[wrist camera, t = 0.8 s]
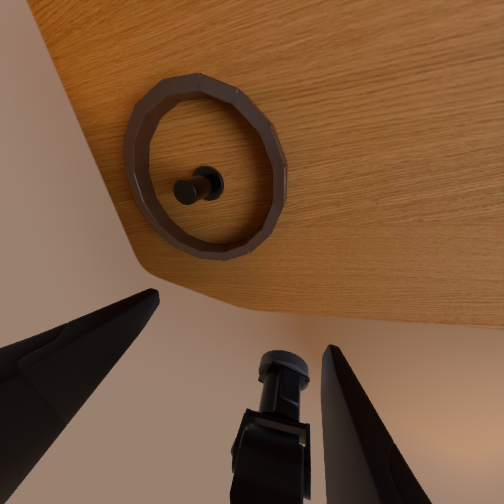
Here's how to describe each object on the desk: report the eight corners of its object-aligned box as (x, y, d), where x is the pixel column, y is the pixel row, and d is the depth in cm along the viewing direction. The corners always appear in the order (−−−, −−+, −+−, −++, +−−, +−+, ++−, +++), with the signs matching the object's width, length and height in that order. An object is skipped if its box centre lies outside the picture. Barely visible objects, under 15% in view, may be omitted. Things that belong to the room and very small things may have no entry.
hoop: (254, 271, 23) (250, 281, 21) (139, 220, 24) (126, 226, 22) (320, 124, 15) (321, 121, 13) (141, 53, 15) (120, 41, 14)
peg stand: (219, 204, 20) (199, 218, 16) (192, 192, 20) (164, 203, 16) (227, 173, 18) (206, 180, 14) (197, 160, 18) (168, 164, 14)
